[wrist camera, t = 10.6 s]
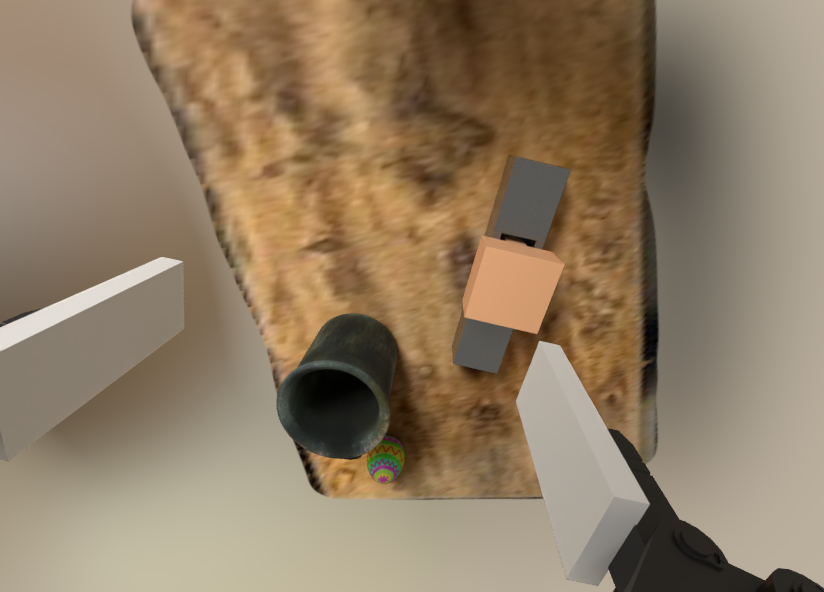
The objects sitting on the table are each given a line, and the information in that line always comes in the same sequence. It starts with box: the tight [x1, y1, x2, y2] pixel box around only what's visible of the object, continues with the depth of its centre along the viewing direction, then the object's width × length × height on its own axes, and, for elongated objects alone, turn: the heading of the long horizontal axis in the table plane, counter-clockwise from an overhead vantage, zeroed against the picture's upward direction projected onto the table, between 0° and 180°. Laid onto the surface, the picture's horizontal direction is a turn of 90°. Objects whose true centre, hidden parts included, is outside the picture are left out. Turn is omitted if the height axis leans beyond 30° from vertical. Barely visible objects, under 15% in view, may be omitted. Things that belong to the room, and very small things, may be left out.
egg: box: [367, 435, 405, 484], centre depth 50 cm, size 5×5×6 cm
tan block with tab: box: [462, 234, 564, 334], centre depth 38 cm, size 7×7×7 cm
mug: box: [277, 314, 398, 460], centre depth 43 cm, size 11×15×12 cm
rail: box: [452, 155, 571, 374], centre depth 41 cm, size 22×5×4 cm, turn 167°
